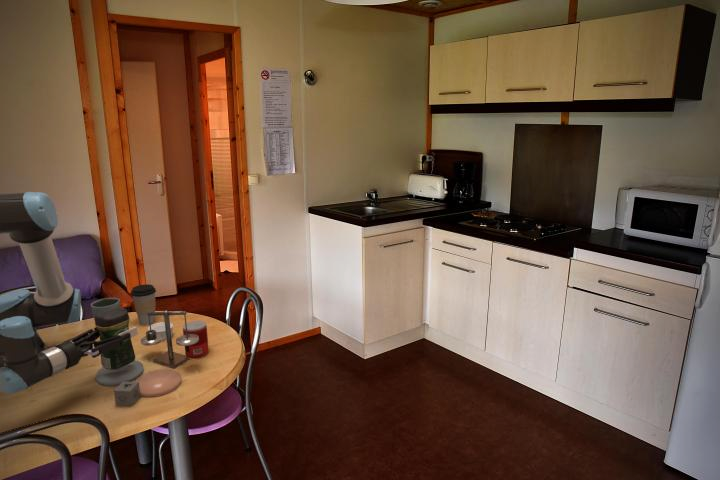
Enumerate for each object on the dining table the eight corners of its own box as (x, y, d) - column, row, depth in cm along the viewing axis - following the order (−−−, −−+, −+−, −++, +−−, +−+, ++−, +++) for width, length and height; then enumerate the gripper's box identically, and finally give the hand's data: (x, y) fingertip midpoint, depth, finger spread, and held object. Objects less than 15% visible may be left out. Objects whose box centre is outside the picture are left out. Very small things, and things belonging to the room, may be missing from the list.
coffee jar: (125, 354, 165) (118, 302, 160) (139, 360, 160) (132, 307, 156) (97, 366, 157) (89, 312, 152) (111, 373, 153) (103, 318, 148)
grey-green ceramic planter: (99, 338, 185) (94, 309, 182) (91, 330, 193) (87, 301, 189) (127, 330, 192) (123, 302, 189) (118, 322, 199) (115, 295, 196)
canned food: (213, 350, 176) (210, 322, 173) (197, 360, 169) (194, 331, 166) (197, 346, 179) (194, 318, 176) (180, 356, 172) (177, 327, 169)
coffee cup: (150, 328, 194) (146, 292, 190) (129, 326, 196) (124, 290, 192) (164, 318, 203) (160, 284, 199) (143, 316, 205) (139, 282, 201)
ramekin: (155, 331, 191) (154, 321, 190) (177, 332, 191) (176, 321, 190) (144, 342, 183) (143, 331, 181) (168, 342, 182) (167, 331, 181)
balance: (138, 357, 171) (131, 304, 166) (154, 349, 177) (148, 297, 172) (190, 373, 160) (184, 317, 155) (205, 364, 166) (200, 309, 161)
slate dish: (86, 379, 157) (85, 375, 156) (124, 360, 169) (123, 356, 169) (116, 390, 151) (115, 386, 150) (153, 369, 163) (152, 365, 162)
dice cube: (140, 396, 148) (138, 382, 146) (132, 406, 143) (130, 391, 141) (124, 396, 148) (122, 381, 147) (115, 405, 143) (113, 390, 142)
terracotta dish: (123, 390, 151) (122, 386, 150) (159, 369, 163) (159, 365, 162) (155, 401, 145) (155, 397, 144) (191, 379, 157) (190, 375, 156)
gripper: (39, 362, 146) (107, 332, 166) (84, 378, 137) (151, 344, 157) (35, 339, 144) (104, 312, 164) (81, 353, 135) (148, 323, 155)
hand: (127, 328), depth 160 cm, fingers closed on coffee jar, 8 cm apart
